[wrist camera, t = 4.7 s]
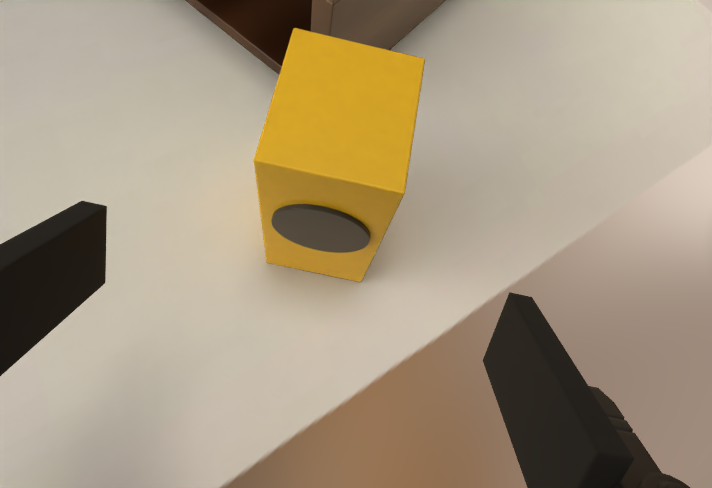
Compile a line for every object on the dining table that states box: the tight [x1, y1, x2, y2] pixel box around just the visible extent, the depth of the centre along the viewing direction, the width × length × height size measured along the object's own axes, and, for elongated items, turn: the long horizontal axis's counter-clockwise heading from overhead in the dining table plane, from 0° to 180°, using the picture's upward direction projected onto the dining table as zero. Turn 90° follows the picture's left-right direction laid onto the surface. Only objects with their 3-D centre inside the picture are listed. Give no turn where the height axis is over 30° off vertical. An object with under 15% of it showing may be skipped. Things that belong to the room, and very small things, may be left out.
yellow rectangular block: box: [254, 28, 425, 282], centre depth 25 cm, size 6×8×12 cm
